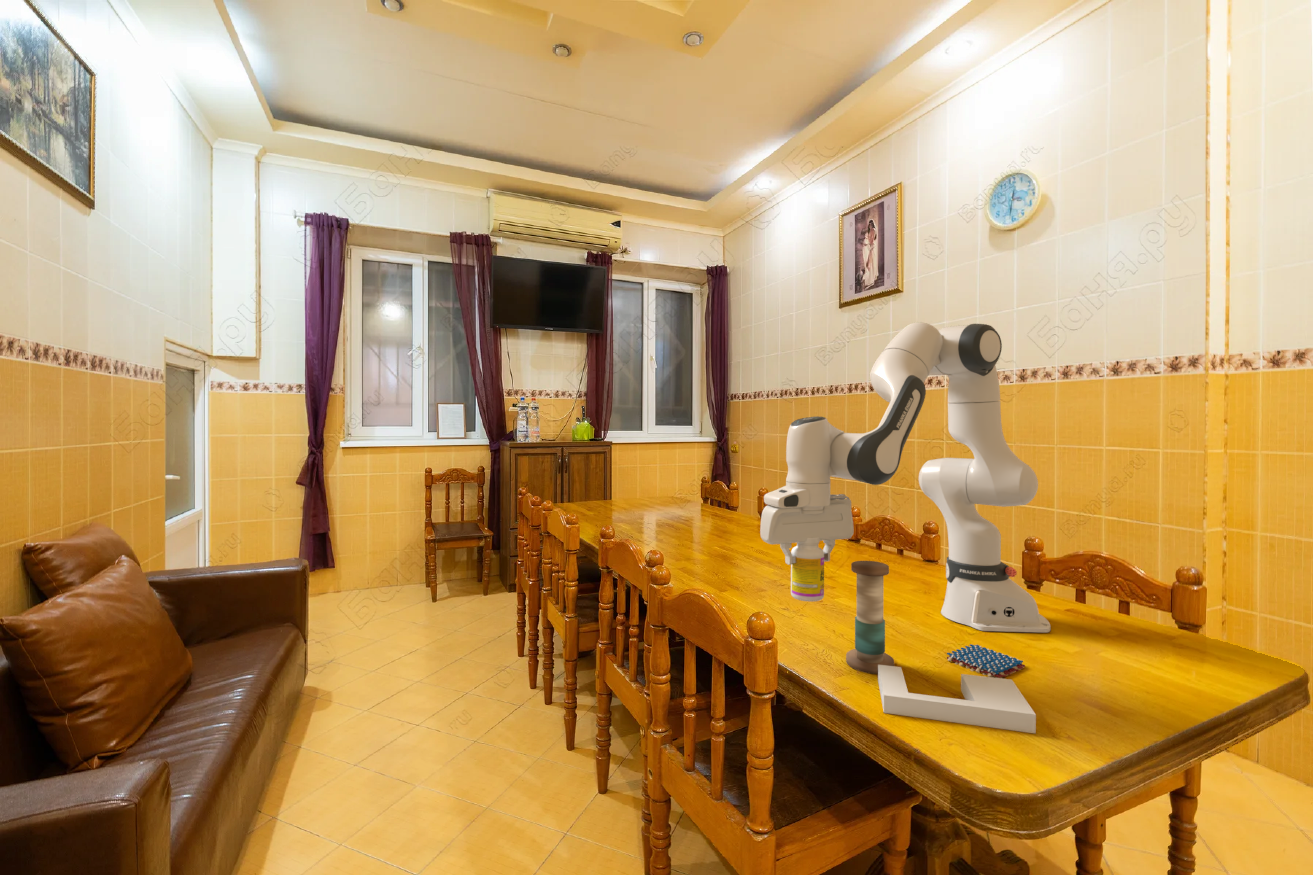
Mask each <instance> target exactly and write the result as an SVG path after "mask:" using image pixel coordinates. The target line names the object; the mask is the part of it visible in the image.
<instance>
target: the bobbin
mask: <svg viewBox="0 0 1313 875" xmlns="http://www.w3.org/2000/svg"><path fill="white" fill-rule="evenodd" d="M851 572H853V573H855V574H856V616H855V617H854V649H850V650H848V651H847V652H846V654H845V663H846V664H847V666H849V667H850V668H852V669H854V670H855V671H859V672H862V673H866V674H872V675H878V665H887V666H895V660H894V657H893V656H891V655H890V654H888V653H886V620H885V619H884V576H888V575H889V574H890V566H889V565H888V564H887V563H884V562H879V561H874V560H855V561H853V562H851Z"/></svg>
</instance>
